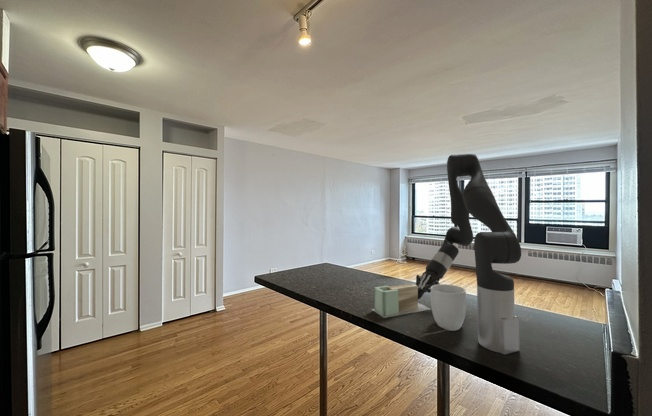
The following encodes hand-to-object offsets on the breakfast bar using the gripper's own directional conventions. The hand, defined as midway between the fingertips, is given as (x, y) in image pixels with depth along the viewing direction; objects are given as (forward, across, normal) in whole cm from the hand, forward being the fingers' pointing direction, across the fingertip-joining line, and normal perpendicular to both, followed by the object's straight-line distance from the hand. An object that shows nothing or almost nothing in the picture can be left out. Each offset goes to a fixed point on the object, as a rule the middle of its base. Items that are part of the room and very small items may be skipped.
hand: (416, 297), depth 107 cm
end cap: (+13, 0, -8) cm, 15 cm away
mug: (+3, +18, +3) cm, 19 cm away
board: (+8, 0, -2) cm, 8 cm away
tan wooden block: (+7, 0, -2) cm, 8 cm away
